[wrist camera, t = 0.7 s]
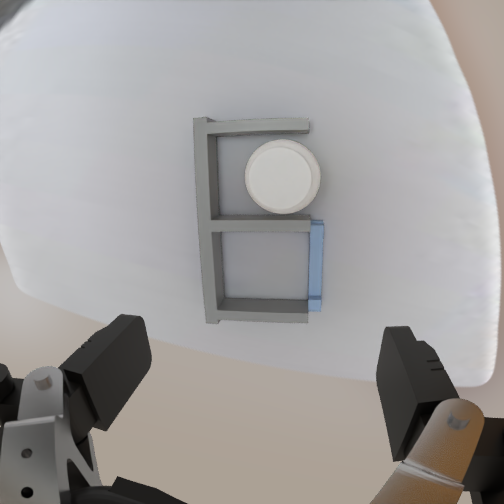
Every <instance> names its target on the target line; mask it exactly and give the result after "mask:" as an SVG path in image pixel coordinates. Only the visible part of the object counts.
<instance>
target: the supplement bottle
mask: <svg viewBox="0 0 504 504" xmlns="http://www.w3.org/2000/svg"><path fill="white" fill-rule="evenodd" d="M320 180H321V173H320V168H319V164H318V162H317V160H316V158H315V156H314V155H313V154H312V152H311V151H310V150H309V149H308V148H306V147H305V146H303V145H302V144H300V143H298V142H295V141H292V140H287V139H279V140H273V141H270V142H267V143H265V144H263V145H262V146H260V147H259V148H258V149H256V150H255V151H254V153H253V154H252V155H251V157H250V158H249V160H248V162H247V165H246V169H245V183H246V187H247V190H248V192H249V194H250V196H251V197H252V199H253V200H254V201H255V202H256V203H257V204H258V205H259V206H260V207H262V208H263V209H265V210H267V211H270V212H273V213H277V214H290V213H294V212H297V211H299V210H301V209H303V208H305V207H306V206H307V205H308V204H309V203H310V202H311V201H312V200H313V199H314V198H315V196H316V194H317V192H318V190H319V186H320Z"/></svg>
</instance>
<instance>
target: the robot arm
mask: <svg viewBox="0 0 504 504" xmlns="http://www.w3.org/2000/svg"><path fill="white" fill-rule="evenodd" d="M151 361H152V355H151V350H150V346H149V341H148V336H147V332H146V327H145V322H144V320H143V318H142V317H141V316H134V315H125V314H121V315H119V316H118V317H117V318H116V319H115V320H114V321H113V322H111V323H110V324H109V325H108V326H107V327H105V328H103V329H101V330H99V331H97V332H96V333H94V335H92V336H91V337H90V338H89V339H88V341H87V342H85V343H84V344H83V345H82V346H81V348H78V349H77V350H76V351H75V352H74V353H73V354H72V355H71V356H70V357H69V358H68V359H67V360H66V361H65V362H64V363H63V364H61V365H60V367H58V368H56V367H51V366H47V367H41V368H38V369H36V370H33V371H32V372H30V373H29V374H28V375H27V376H26V377H25V379H17V378H12V377H11V375H10V372H9V370H8V368H7V367H6V365H4V364H1V363H0V425H1V427H0V504H187V503H185V502H183V501H181V500H179V499H176V498H174V497H172V496H170V495H168V494H166V493H164V492H163V491H160V490H159V489H157V488H153V487H150V486H146V485H143V484H140V483H136V482H133V481H130V480H127V479H124V478H121V477H118V476H117V478H116V480H115V482H114V483H113V485H112V486H103V485H102V483H101V480H100V477H99V472H98V467H97V462H96V457H95V452H94V446H93V440H92V436H91V434H90V432H89V431H90V430H91V429H92V427H94V428H98V429H100V430H103V431H107V430H108V428H109V427H110V425H111V424H112V423H113V421H114V420H115V418H116V417H117V415H118V413H119V412H120V411H121V409H122V408H123V407H124V405H125V404H126V402H127V401H128V399H129V398H130V396H131V395H132V394H133V392H134V391H135V389H136V388H137V386H138V385H139V383H140V382H141V381H142V379H143V378H144V376H145V375H146V374H147V372H148V370H149V369H150V366H151ZM376 381H377V387H378V391H379V395H380V400H381V404H382V408H383V413H384V418H385V422H386V427H387V432H388V436H389V442H390V447H391V452H392V457H393V462H395V461H402V462H401V463H400V464H399V465H398V467H397V468H396V470H395V471H394V473H393V474H392V475H391V477H390V478H389V479H388V481H387V482H386V483H385V485H384V486H383V488H382V489H381V490H380V491H379V493H378V494H377V495H376V496H375V498H374V499H373V500H372V502H371V503H370V504H457V502H458V500H459V498H460V496H461V494H462V491H470V494H471V499H472V503H473V504H504V418H488V417H484V415H483V412H482V411H481V409H480V408H479V407H478V406H477V405H475V404H474V403H472V402H470V401H468V400H465V399H460V398H459V396H458V393H457V391H456V389H455V387H454V386H453V384H452V382H451V380H450V378H449V376H448V374H447V372H446V370H444V366H443V365H442V363H441V361H440V359H439V357H438V355H437V353H436V352H435V350H434V349H433V348H432V347H431V346H430V345H428V344H427V343H426V342H425V341H417V340H416V338H415V336H414V335H413V333H412V331H411V329H410V327H409V326H394V327H386V328H385V330H384V334H383V339H382V344H381V350H380V355H379V360H378V365H377V372H376ZM403 460H405V461H403Z"/></svg>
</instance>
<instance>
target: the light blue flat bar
mask: <svg viewBox="0 0 504 504" xmlns="http://www.w3.org/2000/svg"><path fill="white" fill-rule="evenodd" d="M323 239H324V224H323V220H311V224H310V253H309V292H308V311H321V284H322V257H323Z"/></svg>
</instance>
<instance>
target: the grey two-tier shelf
mask: <svg viewBox="0 0 504 504" xmlns="http://www.w3.org/2000/svg"><path fill="white" fill-rule="evenodd" d="M193 130H194V159H195V182H196V201H197V218H198V233H199V247H200V260H201V273H202V284H203V295H204V306H205V316H206V323H209V324H218V323H219V322H220V320H233V321H253V322H278V323H308V300H275V299H244V298H224V283H223V268H222V251H221V233H220V232H310V224H311V220H310V215H220V213H219V192H218V168H217V140H216V137H218V136H233V135H252V134H283V133H309V118H270V119H248V120H232V121H219V122H216V121H214V120H212V119H210V118H208V117H202V118H193Z"/></svg>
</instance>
